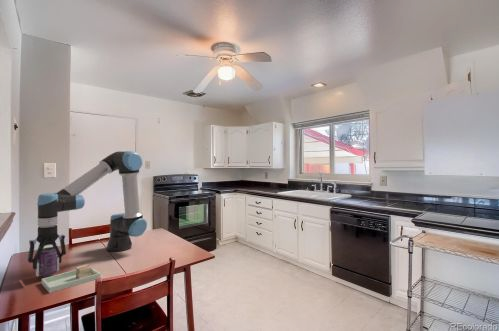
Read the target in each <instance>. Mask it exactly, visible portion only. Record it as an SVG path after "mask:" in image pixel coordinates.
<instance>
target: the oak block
mask: <svg viewBox="0 0 499 331" xmlns="http://www.w3.org/2000/svg"><path fill="white" fill-rule="evenodd" d="M92 268H93V267H92V266H91V265H89V264H88V263H87V264H83V265H80V266H77V267H75V270H76V278H77V279H81V278H84V277H88V276H91V269H92Z"/></svg>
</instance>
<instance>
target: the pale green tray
mask: <svg viewBox="0 0 499 331" xmlns="http://www.w3.org/2000/svg"><path fill="white" fill-rule="evenodd" d="M98 277H100V278H101V273H100V272H99V271H97V270H96V269H95V268H93V267H92V269H91V276H88V277H84V278H81V279H77V278H76V269H74V270H71V271H66V272H63V273H59V274H54V275H49V276H45V277H43V278H41V285H42V287H44V288H45V290H46V291H47V292H48V294H52V293H54V292H58V291H61V290H65V289H68V288H71V287H74V286H78V285H82V284H85V283H89V282H91V281H95V279H96V278H98ZM96 280H97V279H96Z"/></svg>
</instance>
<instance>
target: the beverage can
mask: <svg viewBox="0 0 499 331" xmlns="http://www.w3.org/2000/svg"><path fill="white" fill-rule="evenodd" d="M57 256H58V255H57V252H56V250H55V249H54V248H53V246H51V247H44V248H43V249H42V251H41V254H40V256H39V258H38V262H39V277H40V276H41V277H49V276H52V275H53V274H55V273H56V272H58V271H57Z"/></svg>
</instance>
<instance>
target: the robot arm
mask: <svg viewBox="0 0 499 331" xmlns="http://www.w3.org/2000/svg"><path fill="white" fill-rule="evenodd" d="M142 166H143V159H142V156H141V155H140V154H139V153H138V152H136V151H132V150H131V151H128V150H127V151H120V150H119V151H115V152H113V153H111V154H109V155H107V156H106V157H104V158H103V159H101V160H100V161H99V163H98V164H97V165H96V166H93V168H91V169H89V171H86V172H85V173H84V174H82V175H80V176H79V177H78V178H76V179H75V180H74V181H72V182H71V183H69V184H68V185H66V186H65V187H63V188H61V189H60V190H59V191H57V192H51V193H41V194H39V195H38V198H37V204H36V205H37V237H36V238H34V239H32V240H31V239H30V240H29V241H28V243H29V250H28V256H27V263H29V264H31V263H32V269H33V270H35V276H36V277H40V275H39V262H38V258H39V256H40V254H41V251H42V249H44V248H45V247H46V246H49V245H50V246H51V247H53V248H54V249H55V250H56V252H57V271H56V272H59V271H60V264H62V257H63V256H64V255H66V254H67V252H66V244H65V238H66V235H65V234H59V233H58V225H57V224H58V214H59V213H60V212H61V213H62V212H67V211H73V210H74V211H75V210H80V209H83V208H84V206H85V203H86V202H85V197H84V196H83V195H81V193H83V192H84V191H85V190H87V189H88V188H90V187H91V186H93V185H94V184H96V183H97V182H98V181H99V180H101V179H102V178H104V177H105V176H107V174H112V173H113V172H115V171H118V175H119V176H121V178H122V179H121V182H122V193H123V194H122V195H123V205H124V212H123V213H122V212H121V213H114V214H112V215H110V220H109V221H110V222H109V224H110V225H109V229H110V230H109V238H108V242H107V244H106V251H108V252H113V253H114V252H115V253H116V252H118V253H119V252H124V251H127V250H130V249H132V248H133V243H132V240H131V237H132V238H133V237H135V238H136V237H137V238H138V237H141V236H142V235H143V234H144V233H145V231H146V230H147V228H148V223H147V220H145V219H144V217H143V212H141V211H140V209H141V208H140V200H139V198H140V197H139V196H140V195H139V188H138V187H139V186H138V184H139V182H138V174H139V173H140V169H141V168H142ZM57 239H58V240H59V244H60V249H59V247H58V245H57V243H56V241H57ZM37 242H38V243H39V244H38V247H37V250H36V252H35V245H36V243H37ZM131 247H132V248H131ZM34 253H35V254H34Z"/></svg>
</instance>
